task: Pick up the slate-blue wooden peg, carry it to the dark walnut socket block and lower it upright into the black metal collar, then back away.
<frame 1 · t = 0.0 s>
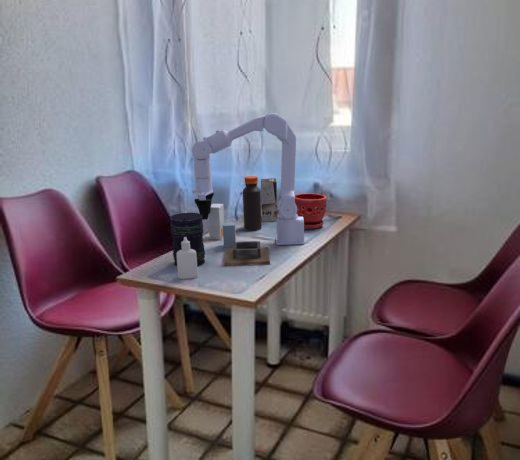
hand: (205, 216, 164), 10 cm above the table, tool pointing down, fingers open, 7 cm apart
eye dropper bottle: (188, 277, 138), on the table
skincare box: (217, 237, 174), on the table
coffee box: (269, 219, 197), on the table
storage jar: (189, 263, 149), on the table
peg: (230, 246, 164), on the table
plant pot: (309, 226, 185), on the table
socket: (247, 257, 152), on the table
vinegar: (252, 229, 184), on the table
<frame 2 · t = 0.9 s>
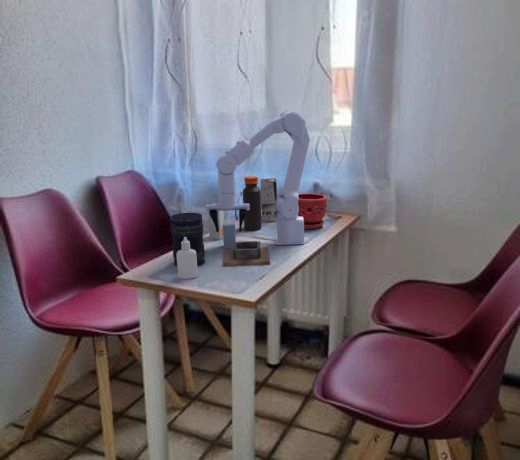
hand: (229, 231, 162), 5 cm above the table, tool pointing down, fingers open, 7 cm apart
nothing on the table moved.
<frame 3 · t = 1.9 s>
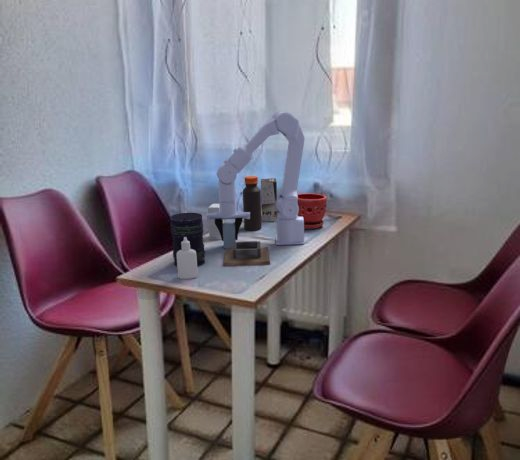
hand: (229, 239, 163), 2 cm above the table, tool pointing down, fingers closed on peg, 4 cm apart
peg: (230, 246, 164), on the table, touching gripper
everything else where it was.
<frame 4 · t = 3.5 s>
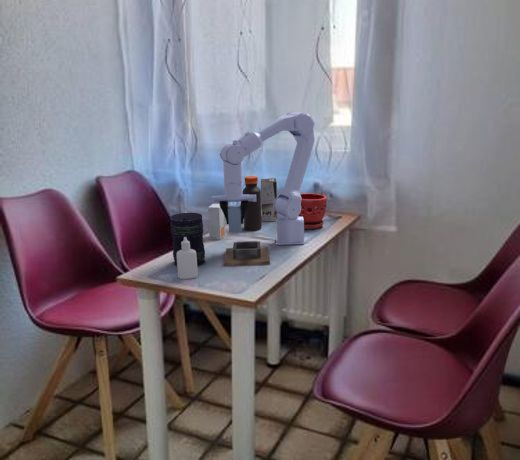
hand: (235, 223, 157), 9 cm above the table, tool pointing down, fingers closed on peg, 4 cm apart
peg: (235, 230, 157), point 7 cm above the table, touching gripper
everything else where it was.
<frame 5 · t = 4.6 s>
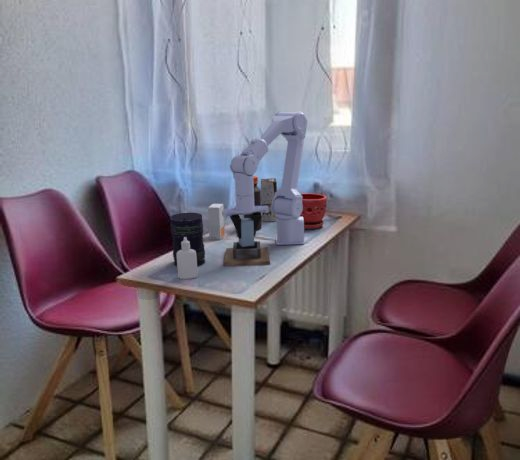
hand: (246, 236, 150), 7 cm above the table, tool pointing down, fingers closed on peg, 4 cm apart
peg: (246, 244, 151), point 4 cm above the table, touching gripper
everything else where it was.
when the fingers open (5 cm above the table, at t = 5.4 s): peg drops 2 cm, resting on socket.
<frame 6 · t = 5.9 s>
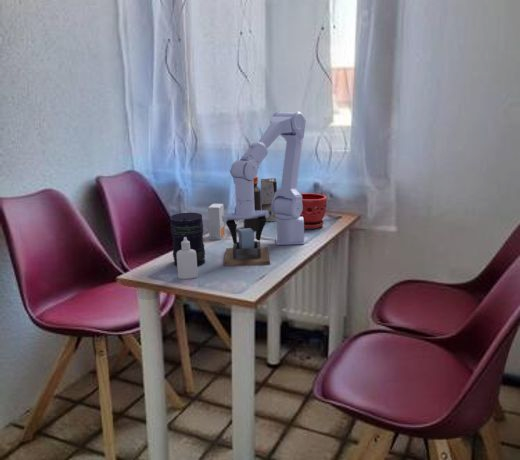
hand: (246, 241, 151), 5 cm above the table, tool pointing down, fingers open, 7 cm apart
peg: (246, 254, 152), point 1 cm above the table, touching socket
everything else where it was.
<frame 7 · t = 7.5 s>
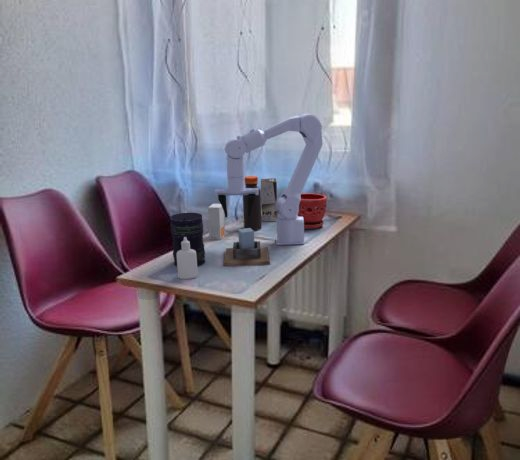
hand: (237, 216, 161), 10 cm above the table, tool pointing down, fingers open, 7 cm apart
nothing on the table moved.
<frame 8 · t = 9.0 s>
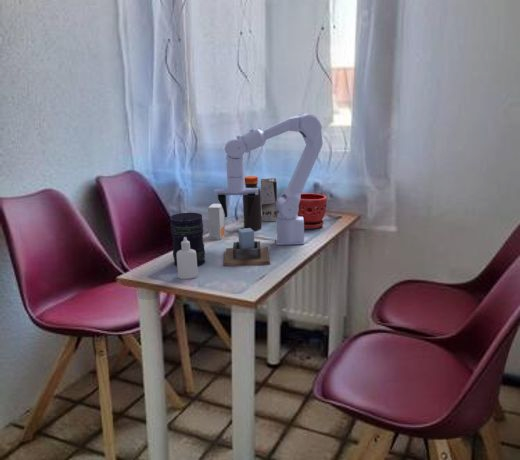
hand: (237, 215, 162), 10 cm above the table, tool pointing down, fingers open, 7 cm apart
nothing on the table moved.
at the end: peg 0.2 cm off-centre on the socket, point 1.0 cm above the socket's base; peg tilted 0°; the gripper is holding nothing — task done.
